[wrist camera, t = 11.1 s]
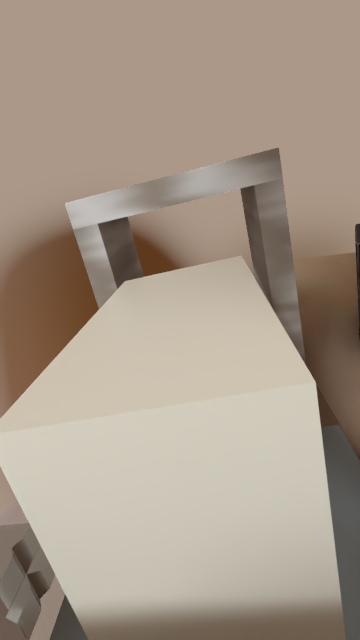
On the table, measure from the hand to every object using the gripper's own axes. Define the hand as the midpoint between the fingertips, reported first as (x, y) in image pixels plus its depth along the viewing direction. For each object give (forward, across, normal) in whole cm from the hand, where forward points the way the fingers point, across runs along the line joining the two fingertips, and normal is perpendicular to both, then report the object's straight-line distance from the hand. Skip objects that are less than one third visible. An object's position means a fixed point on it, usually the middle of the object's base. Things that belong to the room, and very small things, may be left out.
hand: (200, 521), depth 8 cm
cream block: (+5, 0, +6) cm, 8 cm away
